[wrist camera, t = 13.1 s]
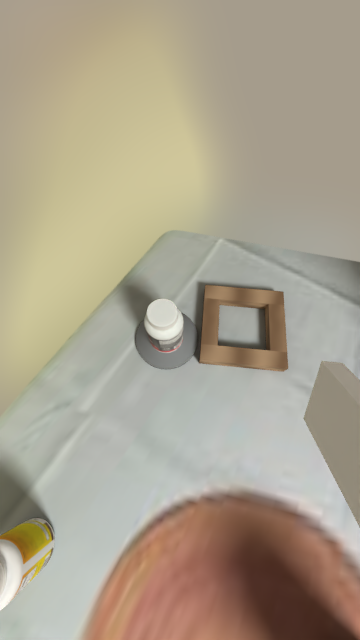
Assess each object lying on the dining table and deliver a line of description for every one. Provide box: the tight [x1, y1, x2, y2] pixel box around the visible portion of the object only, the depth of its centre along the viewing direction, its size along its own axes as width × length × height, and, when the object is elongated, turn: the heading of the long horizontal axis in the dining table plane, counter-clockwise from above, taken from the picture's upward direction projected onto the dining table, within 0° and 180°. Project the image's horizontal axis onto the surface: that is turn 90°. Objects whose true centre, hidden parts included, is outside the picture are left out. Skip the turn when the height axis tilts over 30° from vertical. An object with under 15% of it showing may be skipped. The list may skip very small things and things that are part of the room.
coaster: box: [136, 313, 198, 369], centre depth 42 cm, size 10×10×1 cm
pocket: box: [199, 285, 288, 371], centre depth 42 cm, size 13×13×2 cm
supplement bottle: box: [0, 518, 55, 610], centre depth 27 cm, size 6×6×10 cm
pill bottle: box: [144, 299, 184, 353], centre depth 37 cm, size 5×5×10 cm
